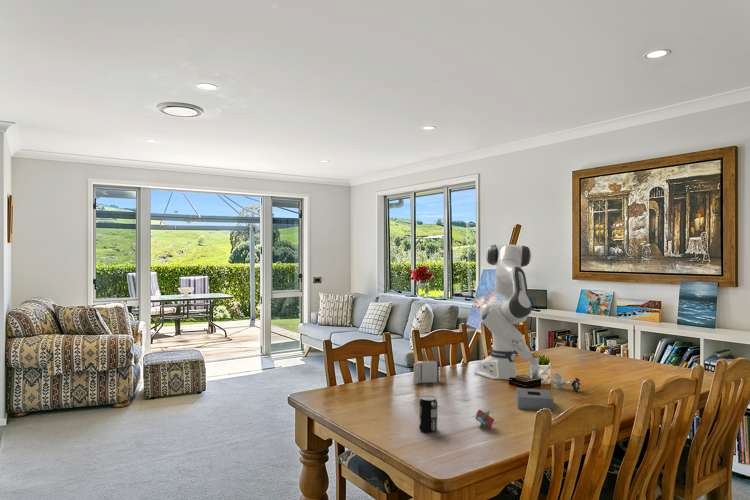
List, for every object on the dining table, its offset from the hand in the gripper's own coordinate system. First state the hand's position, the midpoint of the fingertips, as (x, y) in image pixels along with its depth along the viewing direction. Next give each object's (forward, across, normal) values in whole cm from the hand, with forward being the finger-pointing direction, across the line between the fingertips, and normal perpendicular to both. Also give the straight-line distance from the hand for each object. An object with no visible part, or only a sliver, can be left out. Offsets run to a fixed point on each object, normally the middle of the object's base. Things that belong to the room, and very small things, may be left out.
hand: (535, 362), depth 216 cm
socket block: (+12, 0, +13) cm, 18 cm away
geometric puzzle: (-2, -34, +28) cm, 44 cm away
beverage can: (-16, -41, +43) cm, 61 cm away
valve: (+25, +29, +1) cm, 38 cm away
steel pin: (+4, 0, +5) cm, 7 cm away
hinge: (-23, +27, +48) cm, 60 cm away
